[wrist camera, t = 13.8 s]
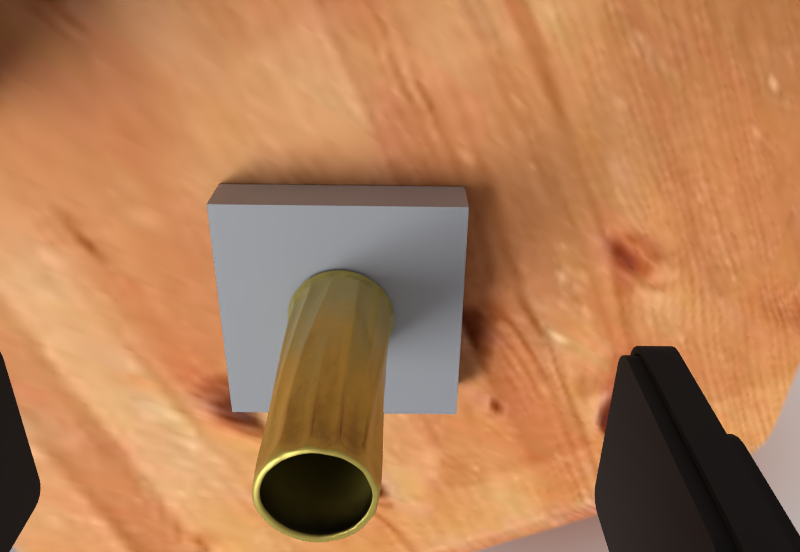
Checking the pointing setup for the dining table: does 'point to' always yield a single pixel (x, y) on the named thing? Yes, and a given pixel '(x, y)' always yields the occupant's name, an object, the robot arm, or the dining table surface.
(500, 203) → the dining table surface
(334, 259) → the plinth
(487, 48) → the dining table surface
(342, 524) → the vase
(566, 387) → the dining table surface
